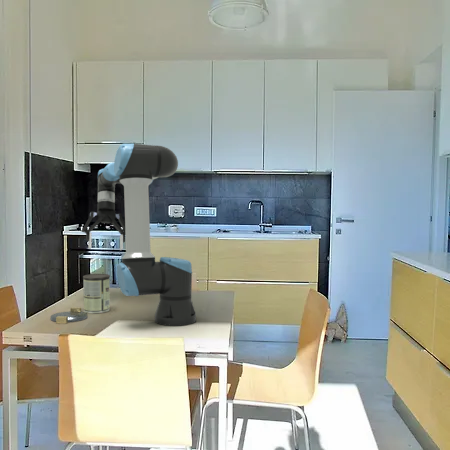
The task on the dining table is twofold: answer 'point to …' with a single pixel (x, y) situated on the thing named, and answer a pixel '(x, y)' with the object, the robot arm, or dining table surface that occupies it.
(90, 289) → the coffee can
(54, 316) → the lock base
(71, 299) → the dining table surface
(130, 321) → the dining table surface
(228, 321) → the dining table surface
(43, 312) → the dining table surface
